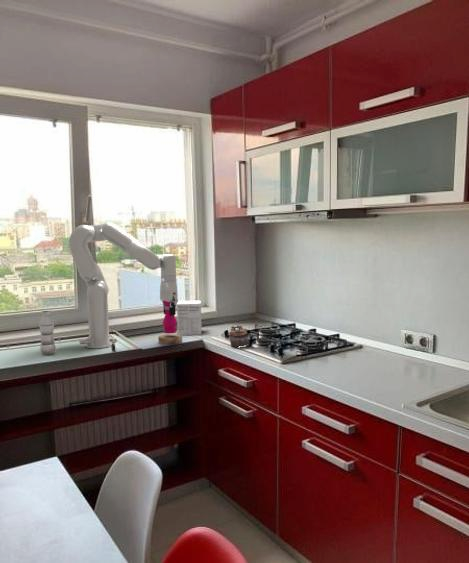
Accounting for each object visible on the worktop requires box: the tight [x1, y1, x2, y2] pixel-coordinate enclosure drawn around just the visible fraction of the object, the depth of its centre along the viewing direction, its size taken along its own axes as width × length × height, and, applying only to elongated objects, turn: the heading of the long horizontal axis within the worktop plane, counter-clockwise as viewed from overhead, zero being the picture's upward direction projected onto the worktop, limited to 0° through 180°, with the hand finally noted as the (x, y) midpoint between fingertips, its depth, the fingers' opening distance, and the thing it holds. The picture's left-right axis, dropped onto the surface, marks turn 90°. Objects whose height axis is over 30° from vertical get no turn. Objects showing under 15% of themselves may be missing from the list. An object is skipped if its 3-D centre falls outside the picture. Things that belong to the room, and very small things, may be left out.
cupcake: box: [228, 324, 250, 349], centre depth 224 cm, size 10×10×10 cm
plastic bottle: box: [38, 310, 56, 356], centre depth 212 cm, size 6×7×20 cm
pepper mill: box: [162, 300, 177, 334], centre depth 235 cm, size 7×7×20 cm
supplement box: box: [176, 300, 202, 336], centre depth 259 cm, size 13×13×18 cm
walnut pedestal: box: [157, 333, 183, 346], centre depth 236 cm, size 12×12×3 cm
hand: (169, 314), depth 235 cm, fingers closed on pepper mill, 5 cm apart
